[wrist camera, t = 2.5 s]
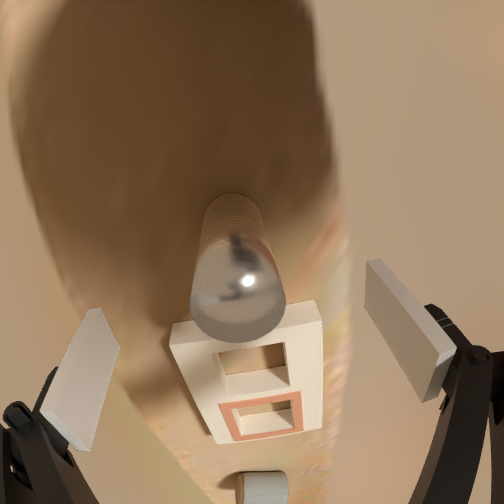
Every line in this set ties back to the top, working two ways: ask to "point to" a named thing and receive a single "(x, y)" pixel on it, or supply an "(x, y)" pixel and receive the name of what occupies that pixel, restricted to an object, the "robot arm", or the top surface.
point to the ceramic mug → (262, 488)
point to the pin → (235, 274)
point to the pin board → (256, 378)
